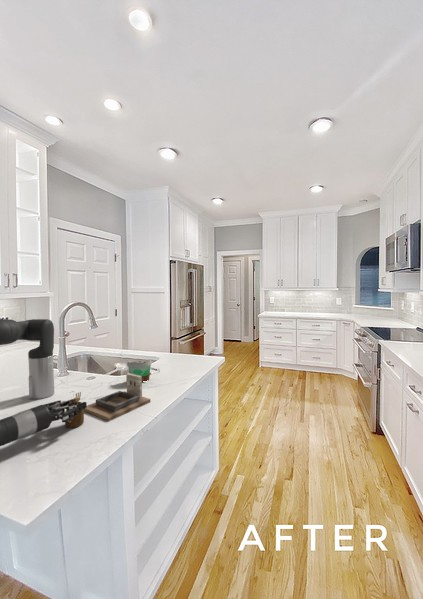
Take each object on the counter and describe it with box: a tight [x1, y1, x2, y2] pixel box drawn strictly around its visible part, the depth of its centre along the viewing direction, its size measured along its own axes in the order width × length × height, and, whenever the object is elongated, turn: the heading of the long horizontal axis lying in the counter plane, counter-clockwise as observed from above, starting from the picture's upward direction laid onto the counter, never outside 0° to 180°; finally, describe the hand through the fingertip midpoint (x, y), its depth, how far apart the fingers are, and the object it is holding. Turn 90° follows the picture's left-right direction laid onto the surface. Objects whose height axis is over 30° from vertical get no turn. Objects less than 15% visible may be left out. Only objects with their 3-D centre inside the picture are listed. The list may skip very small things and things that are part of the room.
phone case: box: [150, 366, 162, 374], centre depth 164 cm, size 7×1×15 cm
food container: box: [126, 359, 153, 383], centre depth 145 cm, size 12×6×10 cm, turn 105°
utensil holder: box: [64, 390, 85, 429], centre depth 101 cm, size 6×6×12 cm
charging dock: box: [83, 372, 151, 422], centre depth 116 cm, size 20×16×10 cm
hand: (80, 402), depth 104 cm, fingers closed on utensil holder, 5 cm apart
